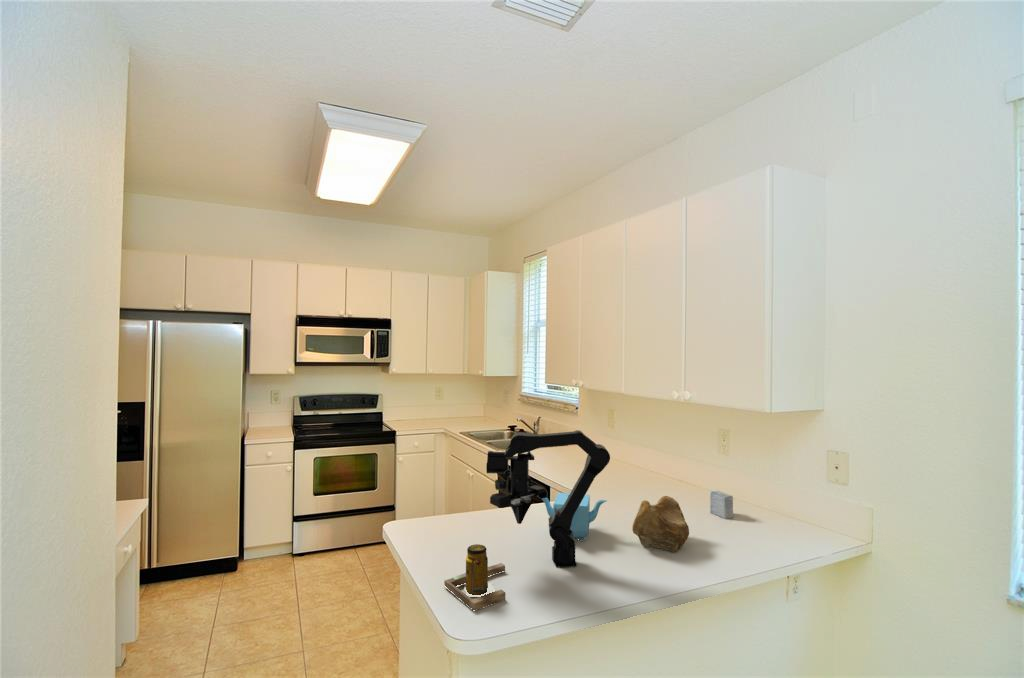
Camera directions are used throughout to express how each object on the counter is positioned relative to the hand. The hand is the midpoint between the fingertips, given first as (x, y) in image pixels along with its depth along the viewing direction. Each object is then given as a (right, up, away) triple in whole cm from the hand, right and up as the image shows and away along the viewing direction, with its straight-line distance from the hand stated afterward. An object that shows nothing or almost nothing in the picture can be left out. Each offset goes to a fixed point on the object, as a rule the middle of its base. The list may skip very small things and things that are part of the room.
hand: (519, 523), depth 158 cm
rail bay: (-9, -12, -18) cm, 23 cm away
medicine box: (+82, -13, +44) cm, 94 cm away
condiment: (-11, -12, -19) cm, 25 cm away
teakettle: (+20, -13, +24) cm, 33 cm away
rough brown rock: (+50, -13, +13) cm, 53 cm away
